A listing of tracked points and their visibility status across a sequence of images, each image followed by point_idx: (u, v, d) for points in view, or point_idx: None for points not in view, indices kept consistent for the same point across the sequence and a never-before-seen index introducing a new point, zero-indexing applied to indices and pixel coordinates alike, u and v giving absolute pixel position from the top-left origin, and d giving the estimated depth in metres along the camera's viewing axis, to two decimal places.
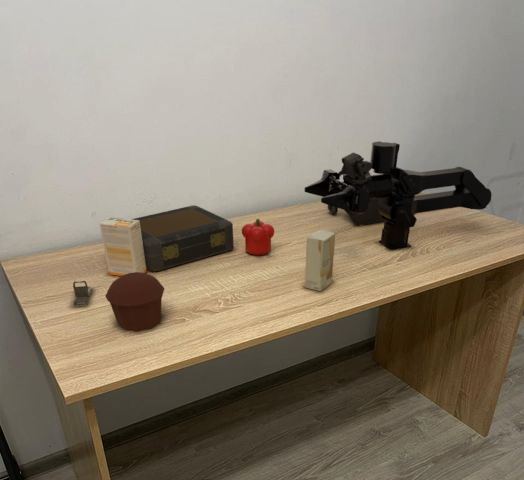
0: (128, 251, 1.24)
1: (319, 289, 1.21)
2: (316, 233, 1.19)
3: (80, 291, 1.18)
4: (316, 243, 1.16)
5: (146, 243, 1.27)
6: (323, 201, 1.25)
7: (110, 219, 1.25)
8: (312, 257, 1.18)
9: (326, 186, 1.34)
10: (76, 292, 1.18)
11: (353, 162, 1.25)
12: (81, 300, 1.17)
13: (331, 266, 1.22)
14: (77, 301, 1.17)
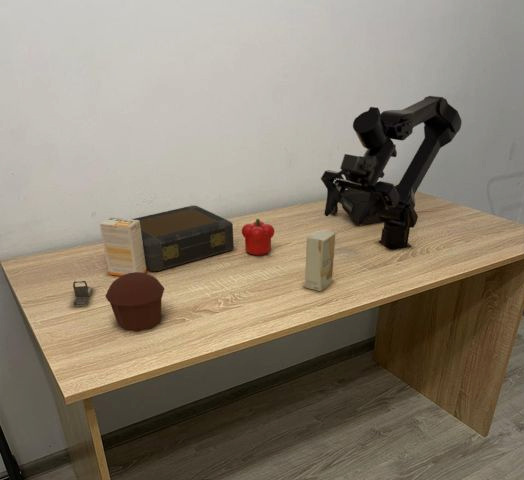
0: (128, 251, 1.24)
1: (319, 289, 1.21)
2: (316, 233, 1.19)
3: (80, 291, 1.18)
4: (316, 243, 1.16)
5: (146, 243, 1.27)
6: (360, 223, 1.19)
7: (110, 219, 1.25)
8: (312, 257, 1.18)
9: (336, 192, 1.25)
10: (76, 292, 1.18)
11: (358, 169, 1.15)
12: (81, 300, 1.17)
13: (331, 266, 1.22)
14: (77, 301, 1.17)
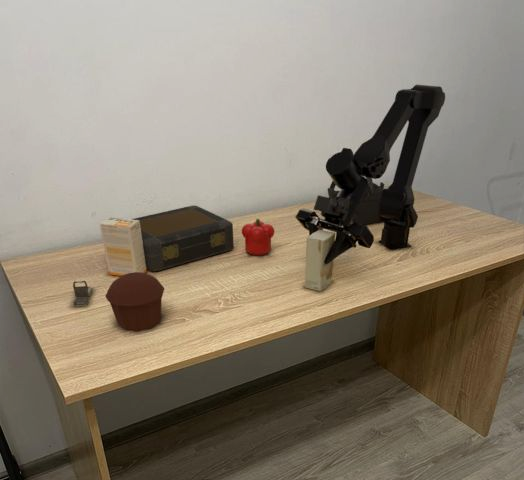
0: (128, 251, 1.24)
1: (319, 289, 1.21)
2: (316, 233, 1.19)
3: (80, 291, 1.18)
4: (316, 243, 1.16)
5: (146, 243, 1.27)
6: (327, 262, 1.18)
7: (110, 219, 1.25)
8: (312, 257, 1.18)
9: None
10: (76, 292, 1.18)
11: (331, 211, 1.13)
12: (81, 300, 1.17)
13: (331, 266, 1.22)
14: (77, 301, 1.17)
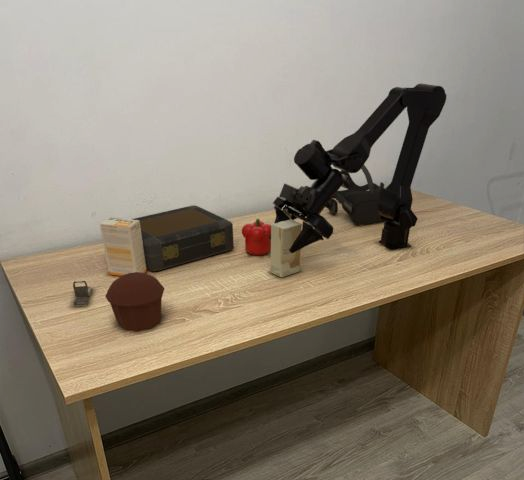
0: (128, 251, 1.24)
1: (280, 275, 1.27)
2: (283, 222, 1.25)
3: (80, 291, 1.18)
4: (277, 231, 1.23)
5: (146, 243, 1.27)
6: (292, 251, 1.23)
7: (110, 219, 1.25)
8: (275, 243, 1.25)
9: (285, 218, 1.29)
10: (76, 292, 1.18)
11: (291, 199, 1.19)
12: (81, 300, 1.17)
13: (297, 255, 1.28)
14: (77, 301, 1.17)
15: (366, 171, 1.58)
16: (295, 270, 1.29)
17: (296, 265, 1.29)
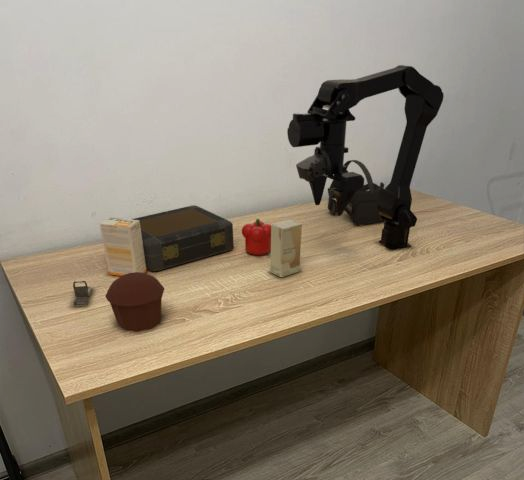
0: (128, 251, 1.24)
1: (280, 275, 1.27)
2: (283, 222, 1.25)
3: (80, 291, 1.18)
4: (277, 231, 1.23)
5: (146, 243, 1.27)
6: (341, 214, 1.26)
7: (110, 219, 1.25)
8: (275, 243, 1.25)
9: (317, 179, 1.30)
10: (76, 292, 1.18)
11: (310, 178, 1.20)
12: (81, 300, 1.17)
13: (297, 255, 1.28)
14: (77, 301, 1.17)
15: (366, 171, 1.58)
16: (295, 270, 1.29)
17: (296, 265, 1.29)
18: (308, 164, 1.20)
